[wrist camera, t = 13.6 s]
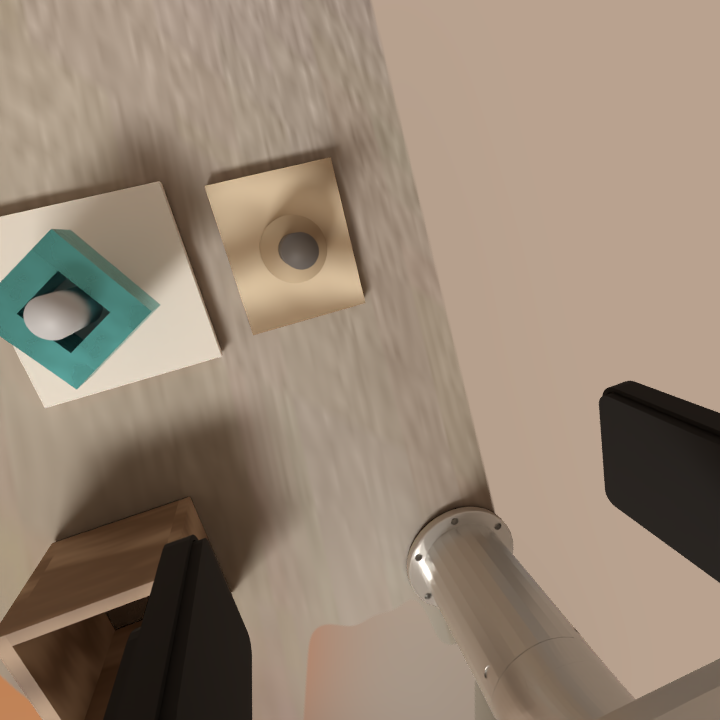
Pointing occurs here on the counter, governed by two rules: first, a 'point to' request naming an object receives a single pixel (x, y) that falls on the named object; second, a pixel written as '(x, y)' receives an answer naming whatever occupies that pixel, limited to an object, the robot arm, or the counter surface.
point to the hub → (136, 261)
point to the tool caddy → (86, 610)
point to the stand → (287, 244)
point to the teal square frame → (96, 278)
